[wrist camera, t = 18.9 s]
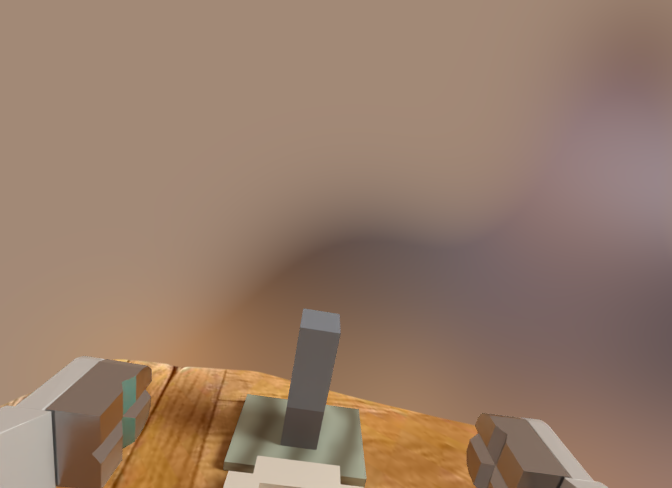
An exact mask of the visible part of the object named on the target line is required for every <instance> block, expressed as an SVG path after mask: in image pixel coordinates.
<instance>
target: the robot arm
mask: <svg viewBox="0 0 672 488" xmlns="http://www.w3.org/2000/svg"><path fill="white" fill-rule="evenodd" d="M151 381H152V372H151V368H150V367H149V366H145V365H139V364H133V363H127V362H121V361H115V360H108V359H100V358H94V357H88V356H82V357H78V358H76V359H75V360H73V361H72V362H71V363H70V364H68V365H67V366H66V367H64V368H63V369H62V370H61V371H59V372H58V373H57V374H56V375H54V376H53V377H52V378H51V379H49V380H48V381H47V382H45V383H44V384H43V385H42V386H40V387H39V388H38V389H36V390H35V391H34V392H33V393H31V394H30V395H29V396H28V397H26V398H25V399H24V400H23V401H21V402H20V403H19V404H17V405H16V406H15V407H14V406H4V407H2V408H0V488H56V486H57V487H69V488H103V487H104V485H105V484H106V482H107V481H108V480H109V478H110V477H111V475H112V474H113V472H114V471H115V469H116V468H117V467H118V465H119V464H120V462H121V461H122V449H123V448H125V447H126V446H128V445H130V444H131V443H133V442H135V440H136V439H137V437H138V436H139V434H140V433H141V431H142V430H143V427H144V425H145V423H146V420H147V418H148V415H149V410H150V406H151V396H150V395H149V394H148V392H147V391H146V388H147V386H148V385H149V384H150V383H151ZM475 427H476V429H477V431H478V434H477V435H476V436H474V437H473V438H472V439H470V441H469V445H468V448H467V467H468V471H469V474H470V477H471V479H472V482H473V484H474V485H475V486H476V487H477V488H608V487H607V486H605V485H604V484H602V483H601V482H595V481H593V479H592V478H591V477H590V476H589V475H588V473H587V472H586V471H585V470H584V468H583V467H582V466H581V465H580V463H579V462H578V461H577V460H576V459H575V458H574V456H573V455H572V454H571V452H570V451H569V450H568V449H567V448H566V447H565V445H564V444H563V443H562V442H561V440H560V439H559V438H558V437H557V435H556V434H555V433H554V432H553V430H552V429H551V428H550V427H549V426H548V424H546V423H545V422H543V421H542V420H538V419H529V418H516V417H509V416H501V415H494V414H486V413H482V414H481V415H480V416H479V417H478V419H477V422H476V424H475Z"/></svg>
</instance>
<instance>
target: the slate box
mask: <svg viewBox="0 0 672 488" xmlns="http://www.w3.org/2000/svg"><path fill="white" fill-rule="evenodd" d="M340 334H341V333H340V315H339V314H334V313H328V312H322V311H316V310H309V309H303V315H302V320H301V325H300V331H299V337H298V343H297V349H296V355H295V361H294V367H293V373H292V378H291V384H290V390H289V396H288V402H287V408H286V414H285V420H284V426H283V432H282V437H281V443H280V445H281V446H289V447H297V448H304V449H312V450H317V445H318V440H319V435H320V430H321V426H322V421H323V416H324V411H325V406H326V401H327V397H328V392H329V387H330V382H331V377H332V372H333V367H334V363H335V358H336V353H337V348H338V343H339V338H340Z"/></svg>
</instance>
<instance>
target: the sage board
mask: <svg viewBox="0 0 672 488" xmlns="http://www.w3.org/2000/svg"><path fill="white" fill-rule="evenodd" d="M287 402H288V400H286V399H279V398H271V397H264V396H257V395H250V394H247V397H246V400H245V403H244V406H243V409H242V412H241V414H240V417H239V420H238V423H237V426H236V429H235V432H234V435H233V438H232V440H231V443H230V446H229V449H228V452H227V455H226V458H225V461H224V467H223V470H227V471H236V472H244V473H252V474H253V472H254V468H255V464H256V459H257V456H265V457H273V458H281V459H289V460H297V461H305V462H313V463H321V464H329V465H337V466H340V483H341V484H342V485H351V486H359V487H364V486H365V483H366V471H365V462H364V453H363V444H362V435H361V426H360V418H359V409H351V408H344V407H337V406H330V405H326V406H325V411H324V416H323V421H322V426H321V430H320V435H319V440H318V445H317V450H312V449H304V448H297V447H289V446H281V445H280V443H281V437H282V432H283V426H284V420H285V414H286V408H287Z"/></svg>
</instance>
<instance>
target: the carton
mask: <svg viewBox="0 0 672 488" xmlns="http://www.w3.org/2000/svg"><path fill="white" fill-rule="evenodd" d="M223 488H364V487H359V486H350V485H342V484H341V483H340V466H337V465H329V464H321V463H313V462H305V461H297V460H289V459H281V458H273V457H265V456H257V459H256V464H255V468H254V472H253V474H252V473H244V472H235V471H228V474H227V477H226V481H225V484H224V487H223Z"/></svg>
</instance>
